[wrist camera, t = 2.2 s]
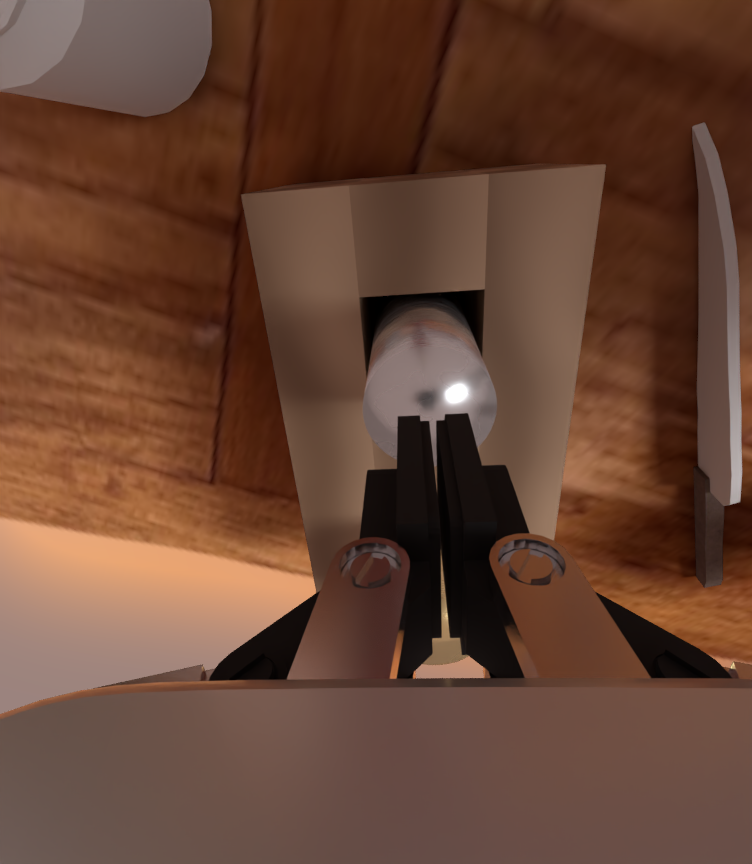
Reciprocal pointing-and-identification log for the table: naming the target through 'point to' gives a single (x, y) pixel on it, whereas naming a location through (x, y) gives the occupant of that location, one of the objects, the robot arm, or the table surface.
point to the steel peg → (425, 369)
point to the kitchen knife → (716, 363)
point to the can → (105, 52)
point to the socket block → (413, 274)
